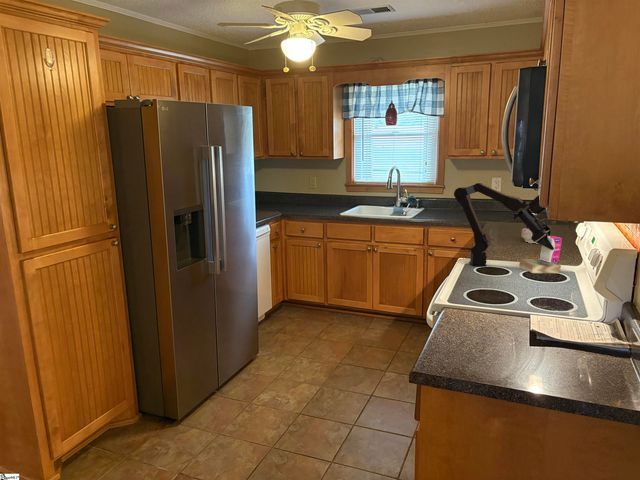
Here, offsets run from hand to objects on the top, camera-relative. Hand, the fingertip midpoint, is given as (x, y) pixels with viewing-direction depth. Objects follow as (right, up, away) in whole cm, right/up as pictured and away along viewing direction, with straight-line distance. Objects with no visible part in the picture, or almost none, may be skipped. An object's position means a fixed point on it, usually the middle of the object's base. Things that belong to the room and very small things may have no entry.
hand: (554, 247), depth 215 cm
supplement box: (-1, -7, +2) cm, 7 cm away
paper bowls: (+26, +2, +79) cm, 83 cm away
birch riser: (-2, -10, +11) cm, 15 cm away
